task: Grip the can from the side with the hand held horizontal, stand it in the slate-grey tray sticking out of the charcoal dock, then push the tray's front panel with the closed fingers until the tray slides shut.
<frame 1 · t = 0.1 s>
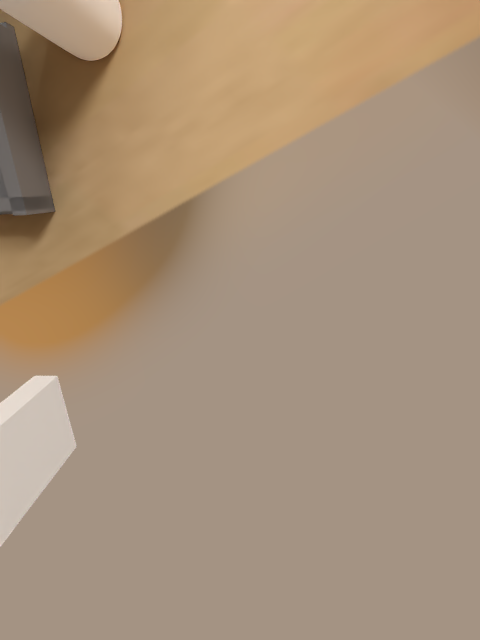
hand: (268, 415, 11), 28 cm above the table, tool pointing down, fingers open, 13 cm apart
can: (90, 19, 31), on the table
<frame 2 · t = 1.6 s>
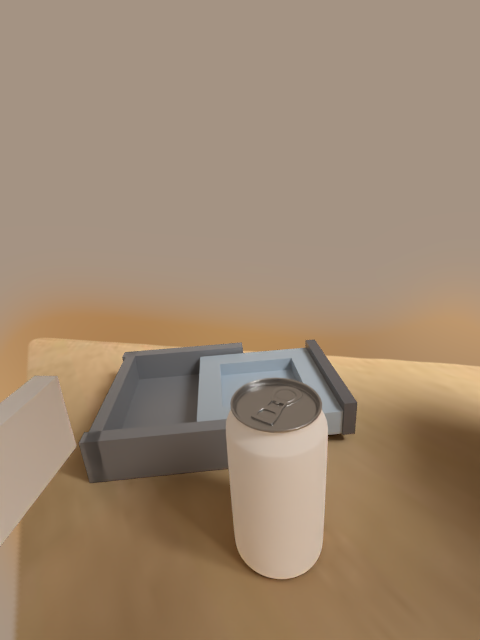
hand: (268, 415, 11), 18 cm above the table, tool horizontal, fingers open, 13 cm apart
can: (278, 539, 26), on the table
tray: (266, 385, 40), point 3 cm above the table, slide at 8.0 cm
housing: (184, 415, 40), on the table
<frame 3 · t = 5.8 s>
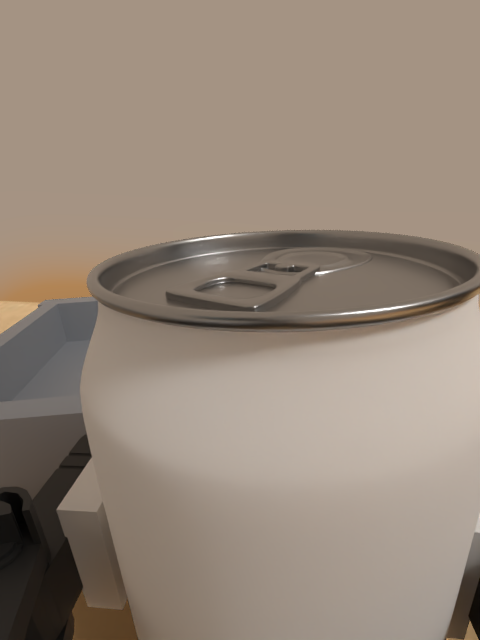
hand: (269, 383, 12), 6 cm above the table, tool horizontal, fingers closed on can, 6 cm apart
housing: (122, 391, 24), on the table
when the fingers open (10 cm above the table, at t = 10.2 s): can drops 2 cm, resting on tray.
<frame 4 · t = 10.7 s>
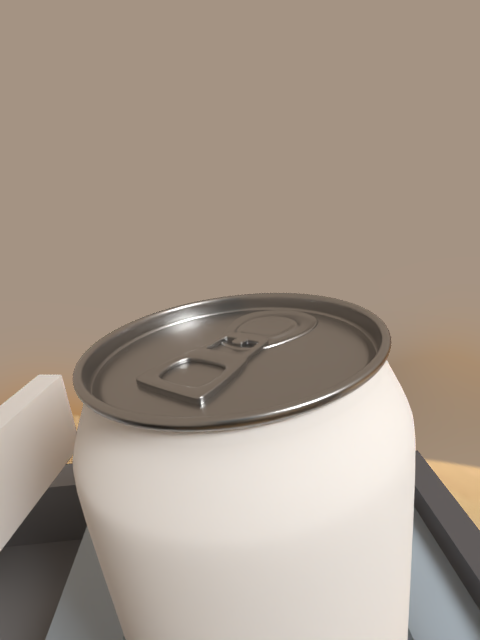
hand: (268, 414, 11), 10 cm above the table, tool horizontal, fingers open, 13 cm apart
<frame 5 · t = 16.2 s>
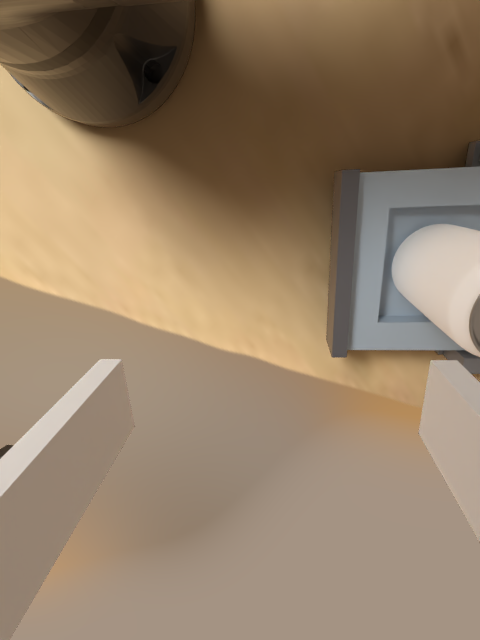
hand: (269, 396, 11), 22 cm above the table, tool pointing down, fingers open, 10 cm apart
can: (430, 263, 28), point 2 cm above the table, touching tray
tray: (432, 265, 27), point 3 cm above the table, slide at 9.0 cm, touching can
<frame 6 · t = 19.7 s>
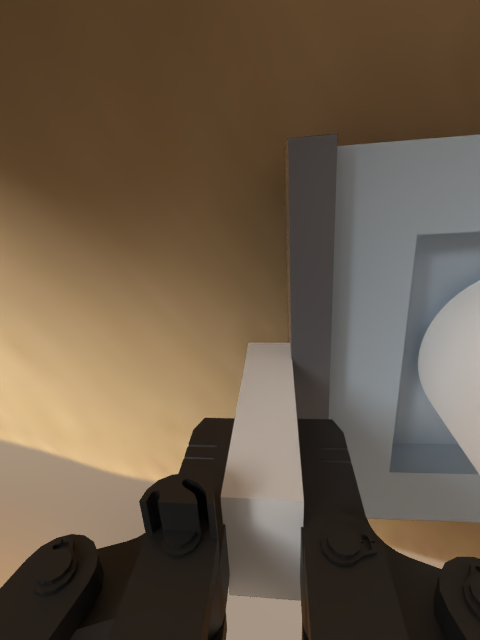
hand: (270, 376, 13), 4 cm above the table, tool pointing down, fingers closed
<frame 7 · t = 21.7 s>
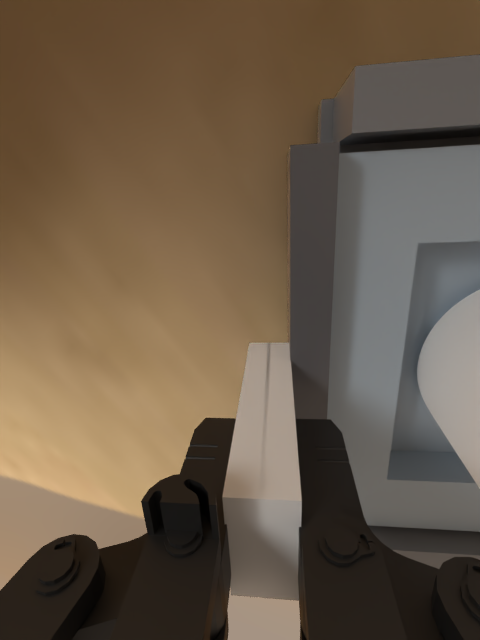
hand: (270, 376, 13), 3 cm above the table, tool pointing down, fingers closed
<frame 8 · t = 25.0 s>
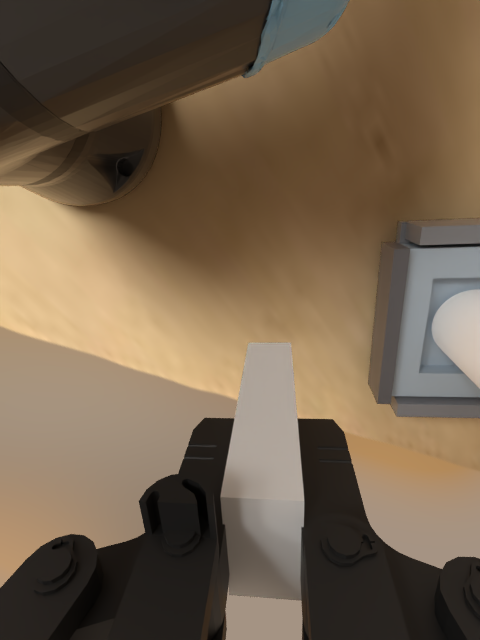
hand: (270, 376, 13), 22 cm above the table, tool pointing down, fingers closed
can: (466, 321, 32), point 2 cm above the table, touching tray
tray: (468, 324, 31), point 3 cm above the table, slide at 0.4 cm, touching can
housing: (474, 312, 33), on the table
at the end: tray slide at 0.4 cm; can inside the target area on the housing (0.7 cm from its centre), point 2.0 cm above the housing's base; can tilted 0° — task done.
